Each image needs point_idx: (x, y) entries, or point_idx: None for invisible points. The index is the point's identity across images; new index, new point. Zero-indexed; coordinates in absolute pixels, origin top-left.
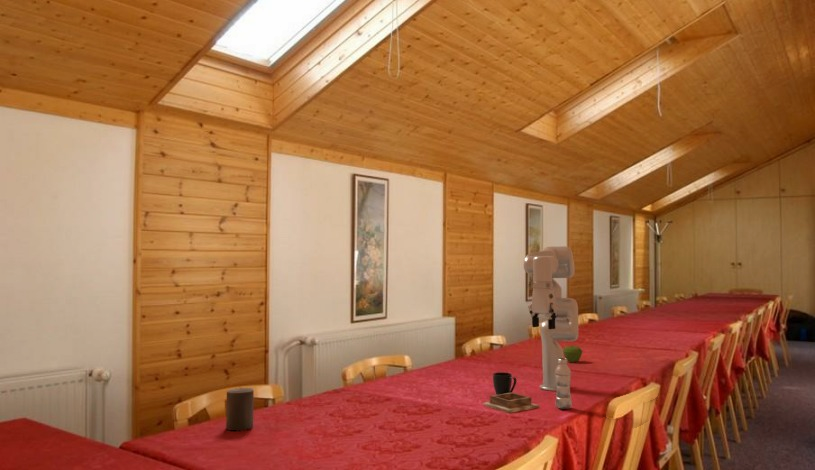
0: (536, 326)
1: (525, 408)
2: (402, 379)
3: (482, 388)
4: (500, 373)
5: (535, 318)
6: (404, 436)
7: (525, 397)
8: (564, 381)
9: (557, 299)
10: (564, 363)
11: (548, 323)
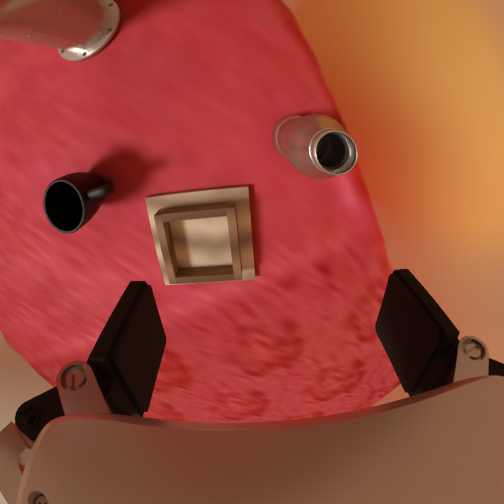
0: (156, 313)
1: (251, 230)
2: None
3: (28, 194)
4: (46, 199)
5: (138, 391)
6: (281, 414)
7: (220, 216)
8: (332, 158)
9: None
10: (350, 160)
11: (398, 365)
